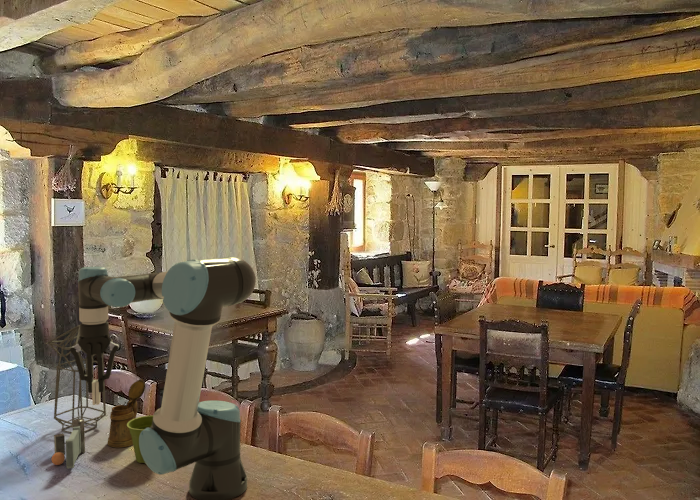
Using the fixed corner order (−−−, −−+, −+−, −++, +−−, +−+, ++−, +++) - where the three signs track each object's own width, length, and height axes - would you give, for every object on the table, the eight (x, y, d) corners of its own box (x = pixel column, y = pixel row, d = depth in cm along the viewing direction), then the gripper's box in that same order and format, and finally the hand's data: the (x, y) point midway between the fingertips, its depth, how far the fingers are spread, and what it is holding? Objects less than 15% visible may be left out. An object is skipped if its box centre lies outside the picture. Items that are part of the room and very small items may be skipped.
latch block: (65, 454, 183) (64, 435, 182) (56, 456, 182) (55, 437, 181) (63, 452, 185) (62, 433, 184) (54, 454, 183) (54, 435, 183)
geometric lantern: (83, 417, 214) (83, 318, 211) (115, 426, 207) (116, 324, 204) (42, 432, 200) (42, 326, 197) (76, 442, 193) (76, 333, 190)
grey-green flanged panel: (74, 452, 182) (73, 426, 182) (81, 452, 183) (80, 426, 182) (66, 468, 172) (65, 441, 171) (73, 468, 172) (72, 440, 171)
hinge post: (86, 452, 184) (85, 420, 184) (75, 455, 182) (74, 423, 182) (83, 449, 187) (82, 417, 186) (72, 452, 185) (71, 419, 184)
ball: (66, 464, 176) (66, 453, 176) (53, 468, 174) (52, 456, 174) (63, 460, 179) (62, 449, 179) (50, 463, 177) (49, 452, 176)
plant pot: (178, 456, 182) (177, 420, 181) (145, 471, 173) (144, 432, 172) (152, 447, 189) (151, 412, 188) (119, 461, 179) (118, 423, 178)
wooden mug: (154, 434, 199) (153, 380, 197) (122, 450, 187) (121, 392, 185) (133, 429, 203) (132, 376, 201) (101, 444, 191) (99, 388, 189)
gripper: (120, 318, 177) (122, 397, 180) (71, 319, 174) (74, 400, 177) (117, 323, 170) (119, 406, 172) (65, 325, 167) (68, 409, 169)
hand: (96, 403), depth 174 cm, fingers closed
